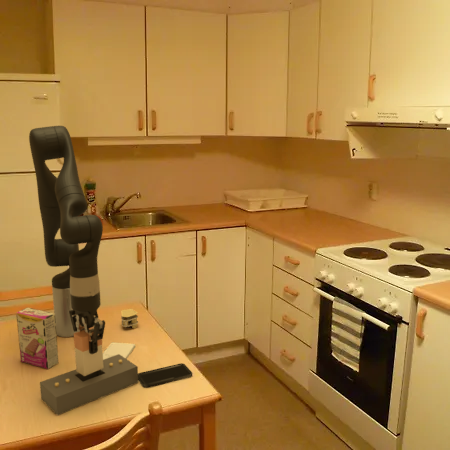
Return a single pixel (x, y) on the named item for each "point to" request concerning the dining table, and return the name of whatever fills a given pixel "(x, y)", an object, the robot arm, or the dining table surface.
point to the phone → (164, 375)
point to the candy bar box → (37, 337)
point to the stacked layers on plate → (129, 318)
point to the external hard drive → (118, 350)
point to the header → (88, 384)
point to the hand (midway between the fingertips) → (88, 350)
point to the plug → (87, 354)
